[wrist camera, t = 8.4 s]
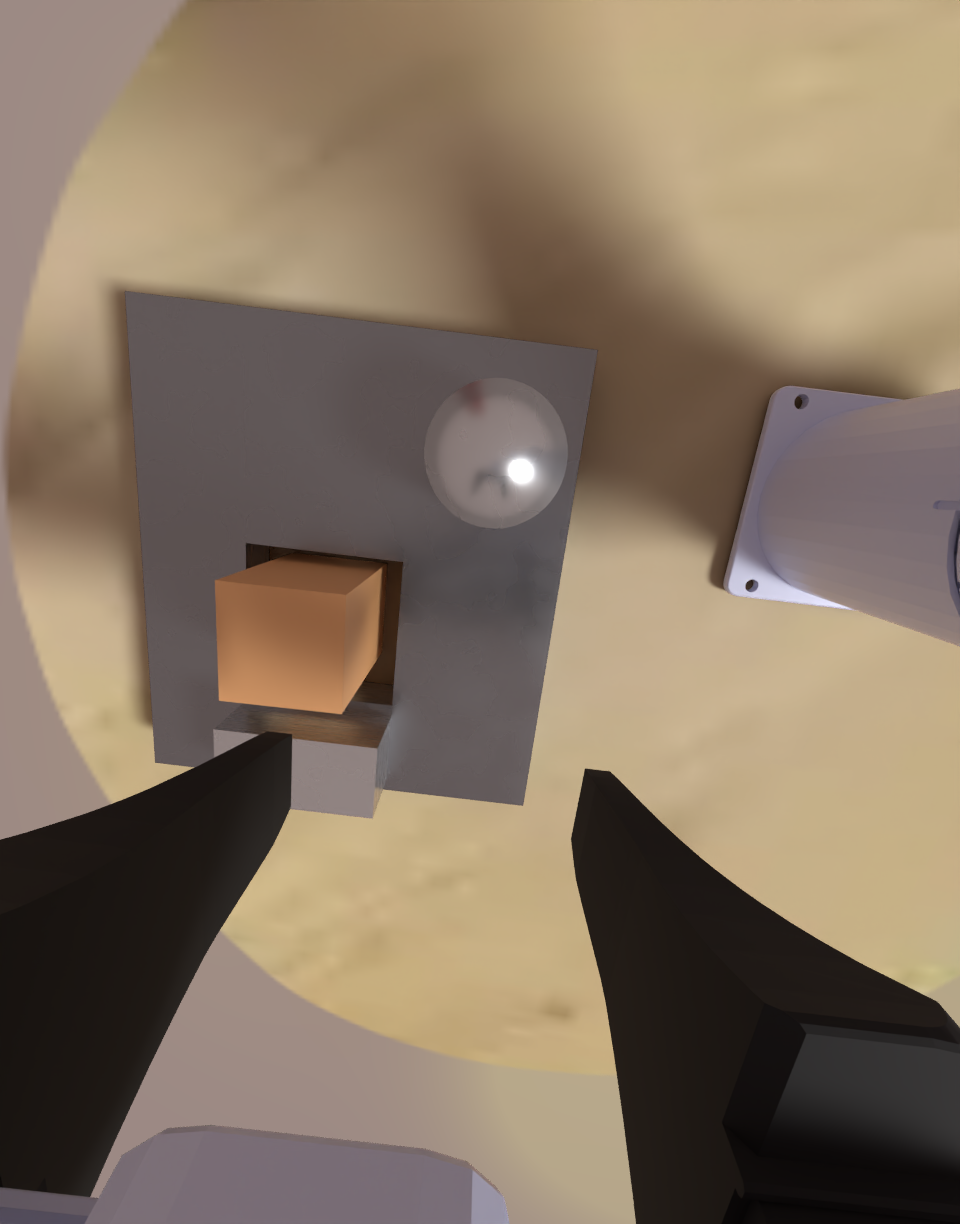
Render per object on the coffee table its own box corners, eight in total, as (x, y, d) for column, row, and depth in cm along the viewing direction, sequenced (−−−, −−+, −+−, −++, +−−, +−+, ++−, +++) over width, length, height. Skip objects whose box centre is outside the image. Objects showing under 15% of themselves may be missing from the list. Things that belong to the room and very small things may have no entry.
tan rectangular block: (387, 563, 20) (346, 594, 15) (382, 651, 21) (341, 714, 16) (293, 552, 20) (214, 579, 15) (292, 641, 21) (219, 700, 16)
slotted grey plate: (586, 364, 18) (630, 308, 12) (520, 778, 23) (530, 878, 17) (164, 311, 18) (10, 230, 12) (183, 738, 23) (78, 826, 17)
